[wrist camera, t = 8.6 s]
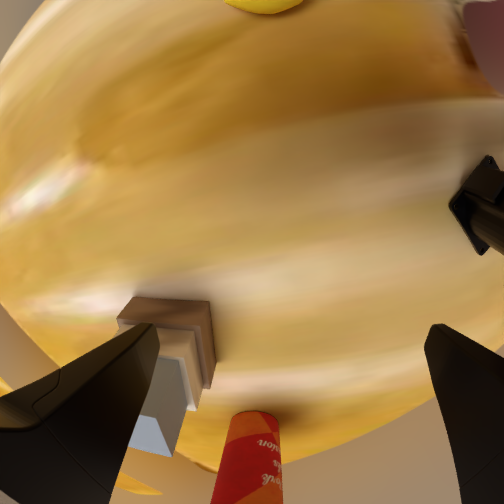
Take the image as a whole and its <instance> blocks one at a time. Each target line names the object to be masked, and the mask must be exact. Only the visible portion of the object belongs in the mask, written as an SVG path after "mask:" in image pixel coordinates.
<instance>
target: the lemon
mask: <svg viewBox="0 0 504 504" xmlns="http://www.w3.org/2000/svg"><path fill="white" fill-rule="evenodd" d="M224 1H225V3H226V4H228V5H230V6H233V7H236V8H239V9H241V10H245V11H249V12H252V13H256V14H275V13H278V12H281V11H284V10H286V9H289V8H291V7H293V6H296V5H298V4H300V3H301V2H302V1H303V0H224Z"/></svg>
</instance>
